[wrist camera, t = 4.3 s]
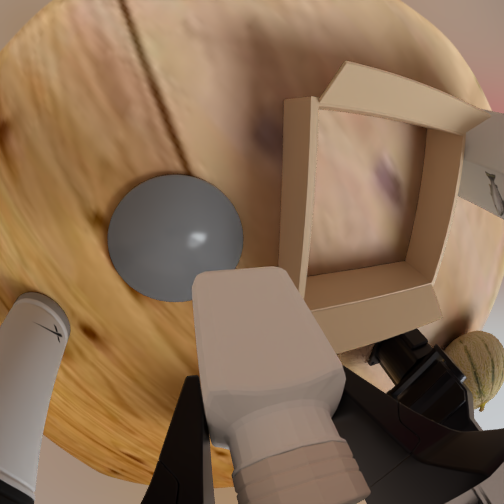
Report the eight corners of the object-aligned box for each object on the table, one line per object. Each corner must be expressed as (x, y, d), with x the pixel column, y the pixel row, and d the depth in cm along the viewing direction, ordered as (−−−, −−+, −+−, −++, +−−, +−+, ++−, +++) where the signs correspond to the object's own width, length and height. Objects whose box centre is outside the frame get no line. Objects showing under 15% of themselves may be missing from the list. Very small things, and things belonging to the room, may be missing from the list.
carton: (403, 278, 28) (445, 317, 22) (275, 302, 25) (306, 362, 19) (431, 105, 20) (493, 116, 13) (283, 75, 17) (337, 58, 10)
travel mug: (72, 299, 20) (17, 537, 3) (70, 350, 23) (43, 544, 5) (13, 278, 18) (-77, 479, 1) (18, 331, 20) (-34, 507, 3)
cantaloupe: (482, 318, 42) (526, 362, 29) (442, 373, 47) (478, 418, 34) (457, 312, 36) (514, 369, 23) (408, 378, 41) (451, 437, 28)
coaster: (242, 290, 24) (244, 294, 23) (124, 302, 22) (123, 307, 21) (241, 169, 19) (242, 170, 19) (99, 183, 17) (96, 185, 17)
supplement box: (426, 147, 22) (539, 188, 11) (457, 103, 20) (559, 127, 9) (451, 195, 25) (541, 245, 14) (478, 152, 24) (564, 187, 13)
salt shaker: (190, 266, 11) (226, 530, 3) (285, 259, 12) (414, 467, 4) (197, 338, 13) (232, 539, 5) (277, 329, 14) (355, 506, 6)
